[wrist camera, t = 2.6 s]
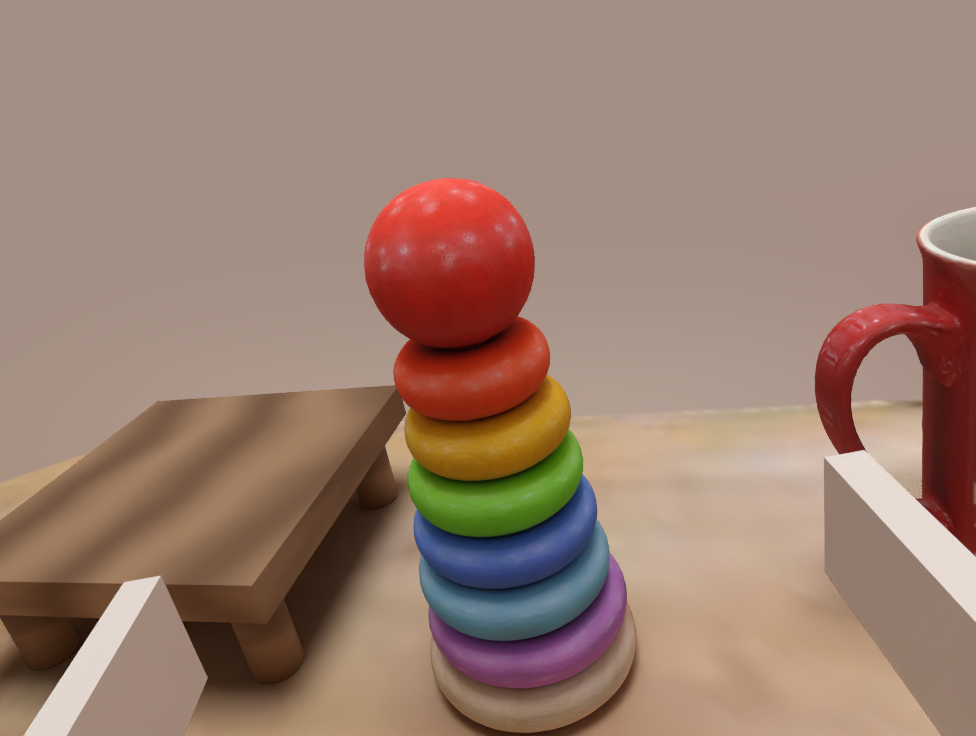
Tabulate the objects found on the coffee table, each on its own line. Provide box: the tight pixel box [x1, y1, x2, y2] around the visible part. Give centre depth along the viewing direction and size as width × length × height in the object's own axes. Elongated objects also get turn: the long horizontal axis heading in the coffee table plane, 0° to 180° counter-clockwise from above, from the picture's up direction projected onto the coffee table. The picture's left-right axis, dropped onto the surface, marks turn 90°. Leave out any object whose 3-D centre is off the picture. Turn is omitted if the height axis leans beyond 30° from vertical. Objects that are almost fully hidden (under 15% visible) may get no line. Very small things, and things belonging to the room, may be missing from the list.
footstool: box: [0, 386, 406, 684], centre depth 36 cm, size 16×16×6 cm
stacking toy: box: [364, 178, 636, 733], centre depth 25 cm, size 8×8×19 cm
